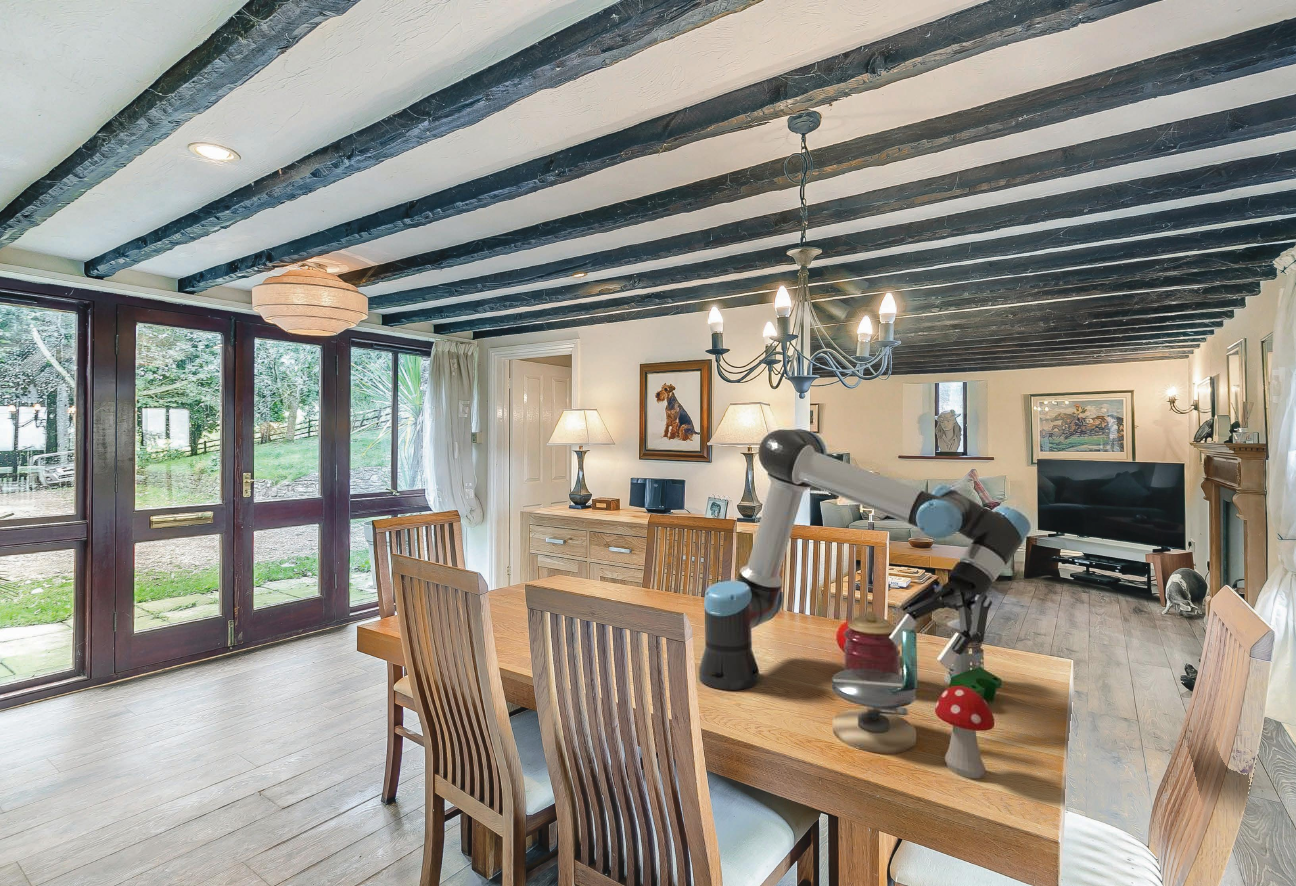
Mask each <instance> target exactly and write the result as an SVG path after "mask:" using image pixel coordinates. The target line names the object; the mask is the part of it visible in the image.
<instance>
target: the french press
mask: <svg viewBox="0 0 1296 886" xmlns="http://www.w3.org/2000/svg"><path fill="white" fill-rule="evenodd" d="M946 625H947V626H948V628H949V629H951V630H953V631H957V632H959V631H960V621H959V618H956V619H953V620H950V621H948V622H947V623H946ZM960 632H961V631H960ZM951 639H952V638H950V639H949V641H950V640H951ZM982 646H983V642H982V643H978V642H977V641H973V642H972V643H969V644H968V646H967V647H966V649H965V650H964V652H963V653H962V654H961V655H958V656H957V657H956V659H955V660H954V662H953V663H952V665H951V666H950V667H949V669H948V674H946V675H945V676H944V678H943V680H944V681H945V682H946V683H948V684H949V685H950V680H951V677H952V676H955V675H958V674H961V673H964V672H967V671H970V670H973V669H975V668H978V667H981V668H983V669H984V670H985V663H984V659H985V657H984V656H985V652H984V649H983V648H982ZM970 649H971V653H970Z"/></svg>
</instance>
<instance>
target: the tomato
mask: <svg viewBox="0 0 1296 886" xmlns="http://www.w3.org/2000/svg"><path fill="white" fill-rule="evenodd" d="M854 618H856V616H854ZM851 620H852V619H847V620H846V621H844V622H843V623H841V624H840V625H839V627H838V629H837V631H836V633H835V634H836V635H835V637H836V638H835V639H836V643H837V646H838V647H839V648H840V650H841V651H842V653H844V654H845V649H844V645H845V644H846V637H845V636H844V632H845V631H846V630H847V629H849V627H848V625H847V623H848V622H849V621H851Z"/></svg>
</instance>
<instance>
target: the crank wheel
mask: <svg viewBox="0 0 1296 886" xmlns="http://www.w3.org/2000/svg"><path fill="white" fill-rule="evenodd" d="M917 635H918V634H917V630H914V629H912V630H910V629H903V630H901V637H902V643H901V674H900V675H897V674H894V673H890V672H886V671H881V670H875V669H849V670H845V669H843V670H841V671H838V672H836V673H835V674H833V676H832V677H831V690H832V691H833V693H834V694H835V695H837V697H839V698H841V699H843V700H845V701H847V702H850V703H852V704H855V705H859V706H863V707H866V709H867V718H869V719H871V720H879V719H880V713H881V714H893V715H896V716H908V715H909V709H908V708H906V706H909V705H911V704H913V703H914V702H915V701H916V698H917V697H916V696H917V694H916V691H917V690H916V689H917V688H918V650H917V649H918V648H917V644H918V643H917V642H918V641H917V640H918V639H917V638H918V637H917Z"/></svg>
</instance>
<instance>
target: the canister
mask: <svg viewBox="0 0 1296 886" xmlns="http://www.w3.org/2000/svg"><path fill="white" fill-rule="evenodd" d="M855 617H856V616H855ZM855 617H854V618H853V619H850V620H851V621H849V622H848V623H847V625H848V627H849V629H847V630H846V631H845V632H844V636H845V637H846V644H845V645H844V649H845V653H844V670H849V669H875V670H881V671H886V672H890V673H894V674H897V675H900V676H901V673H900V672H901V671H900V670H901V669H900V668H901V667H900V665H901V663H900V661H901V660H900V654H901V650H900V648H899V646H897V645H896V644H895V643H894V642H893V641H892V640H891V639H890V638H889V637H890V635H891V634H892V633H893V631H894V630H895V629H896V627H897V625H894V624H893V623H891V622H890V621H889V620H888V619H886V618H882V617H878V615H877V613H876V612H875V611H867V612H866V614H865V615H863V616H857V617H856V618H855Z"/></svg>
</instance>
